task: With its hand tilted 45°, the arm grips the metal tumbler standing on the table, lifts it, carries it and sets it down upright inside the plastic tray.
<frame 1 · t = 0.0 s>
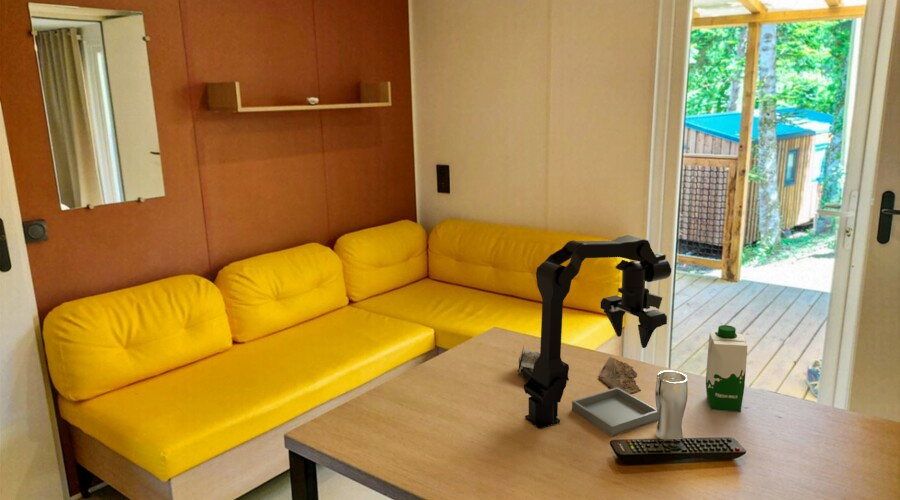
hand: (631, 341, 166), 15 cm above the table, tool pointing down, fingers open, 9 cm apart
metal tumbler: (669, 436, 148), on the table
wooden fragment: (617, 377, 180), on the table
milk carton: (723, 405, 161), on the table
caster wheel: (534, 377, 181), on the table
tray: (614, 414, 158), on the table
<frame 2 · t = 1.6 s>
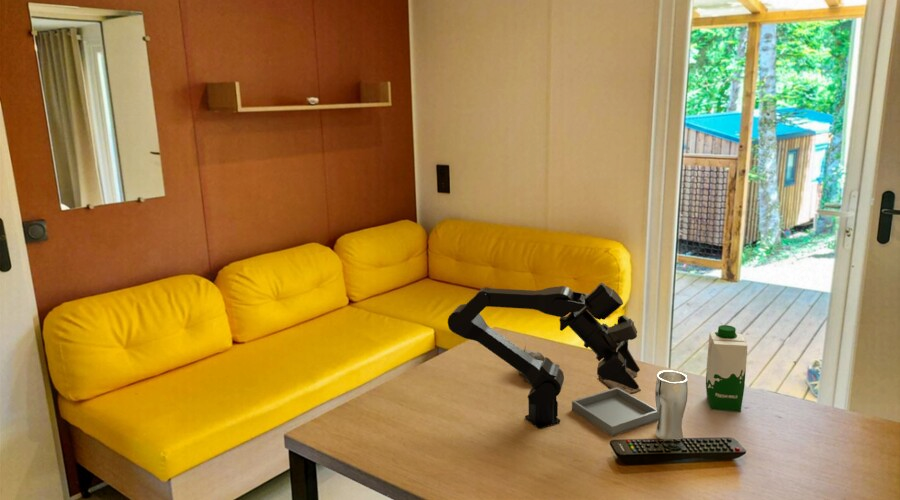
hand: (638, 379, 147), 13 cm above the table, tool tilted 45°, fingers open, 9 cm apart
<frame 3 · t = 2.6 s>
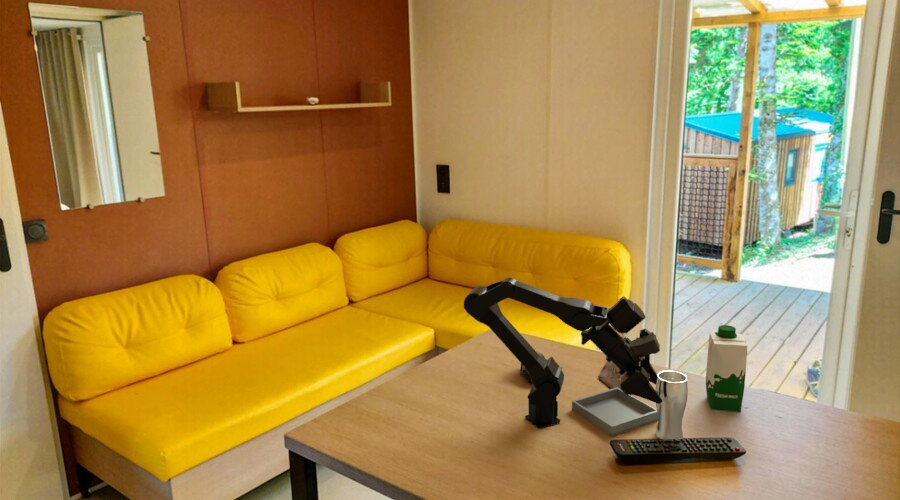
hand: (660, 393, 146), 11 cm above the table, tool tilted 45°, fingers open, 9 cm apart
nothing on the table moved.
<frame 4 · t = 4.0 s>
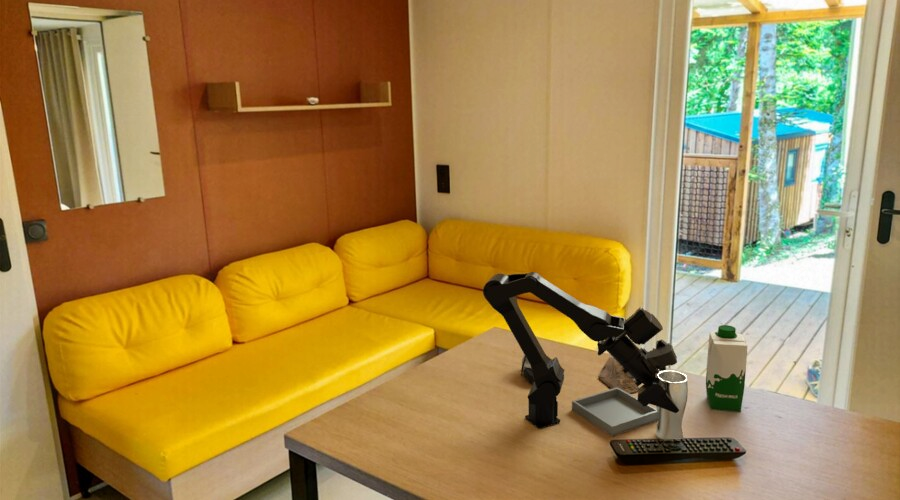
hand: (677, 404, 145), 8 cm above the table, tool tilted 45°, fingers closed on metal tumbler, 6 cm apart
metal tumbler: (669, 436, 148), on the table, touching gripper
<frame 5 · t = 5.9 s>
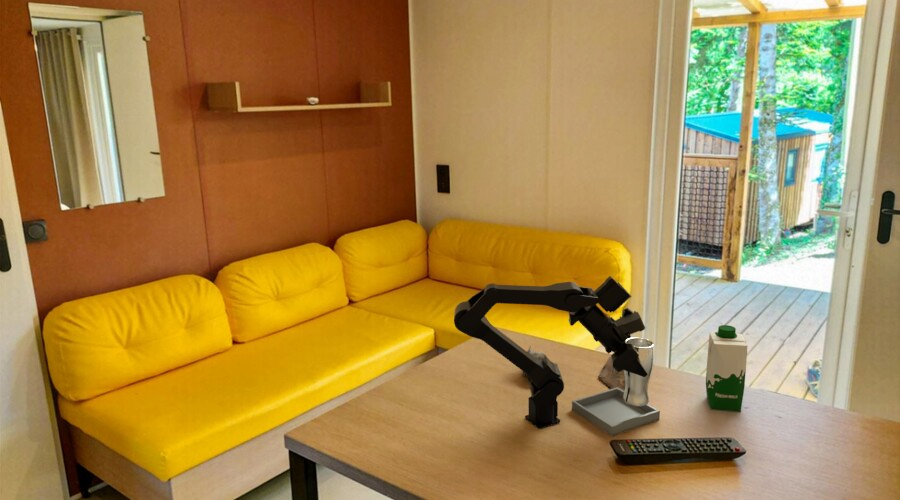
hand: (643, 369, 151), 14 cm above the table, tool tilted 45°, fingers closed on metal tumbler, 6 cm apart
metal tumbler: (635, 401, 153), point 5 cm above the table, touching gripper
when the fingers open (10 cm above the table, at t = 7.7 s): metal tumbler drops 1 cm, resting on tray.
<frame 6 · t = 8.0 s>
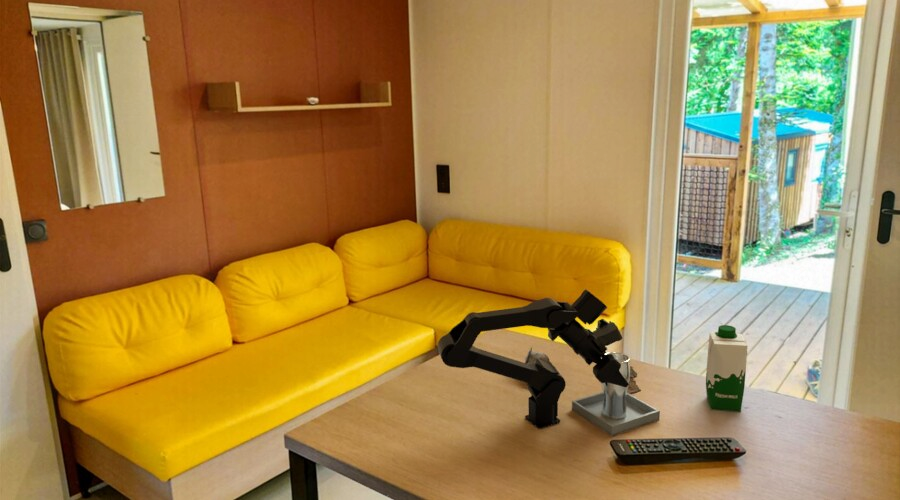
hand: (621, 377, 156), 10 cm above the table, tool tilted 45°, fingers open, 9 cm apart
metal tumbler: (614, 414, 158), resting on tray
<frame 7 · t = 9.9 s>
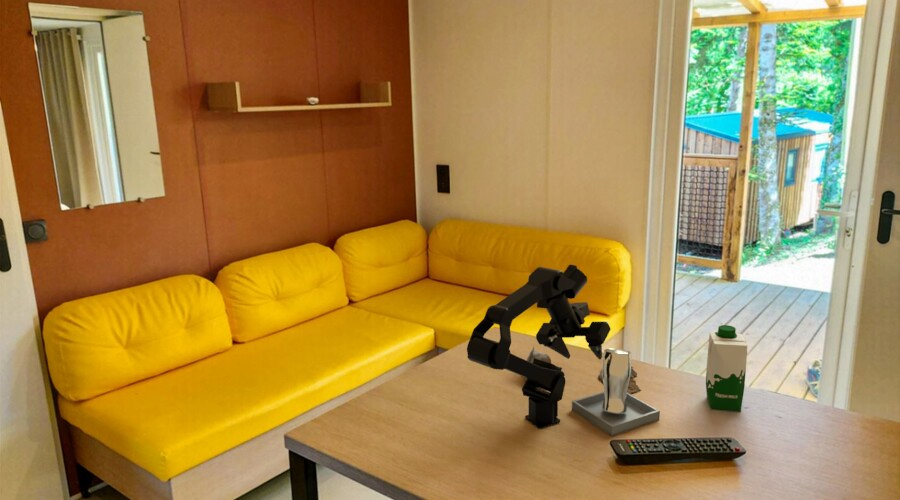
hand: (584, 357, 160), 13 cm above the table, tool tilted 30°, fingers open, 9 cm apart
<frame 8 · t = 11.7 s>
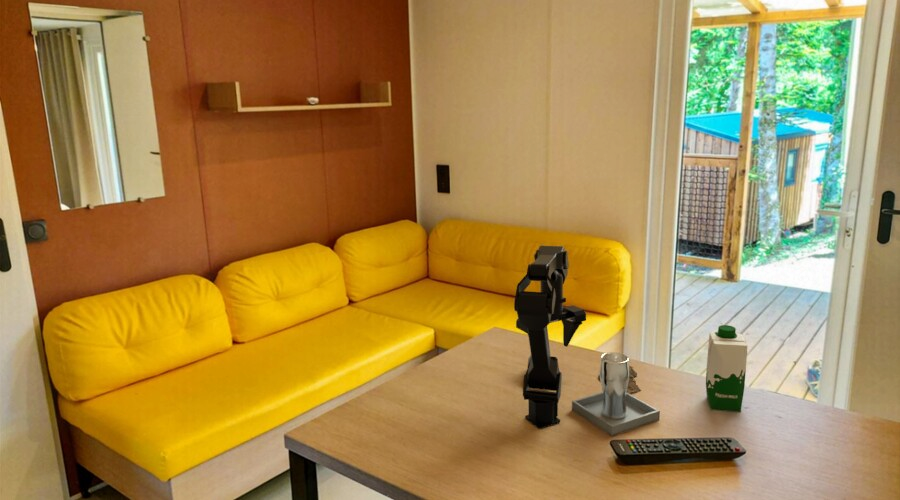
hand: (551, 349, 167), 13 cm above the table, tool pointing down, fingers open, 9 cm apart
at the end: metal tumbler inside the target area on the tray (0.2 cm from its centre), point 0.4 cm above the tray's base; metal tumbler tilted 2°; the gripper is holding nothing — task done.
